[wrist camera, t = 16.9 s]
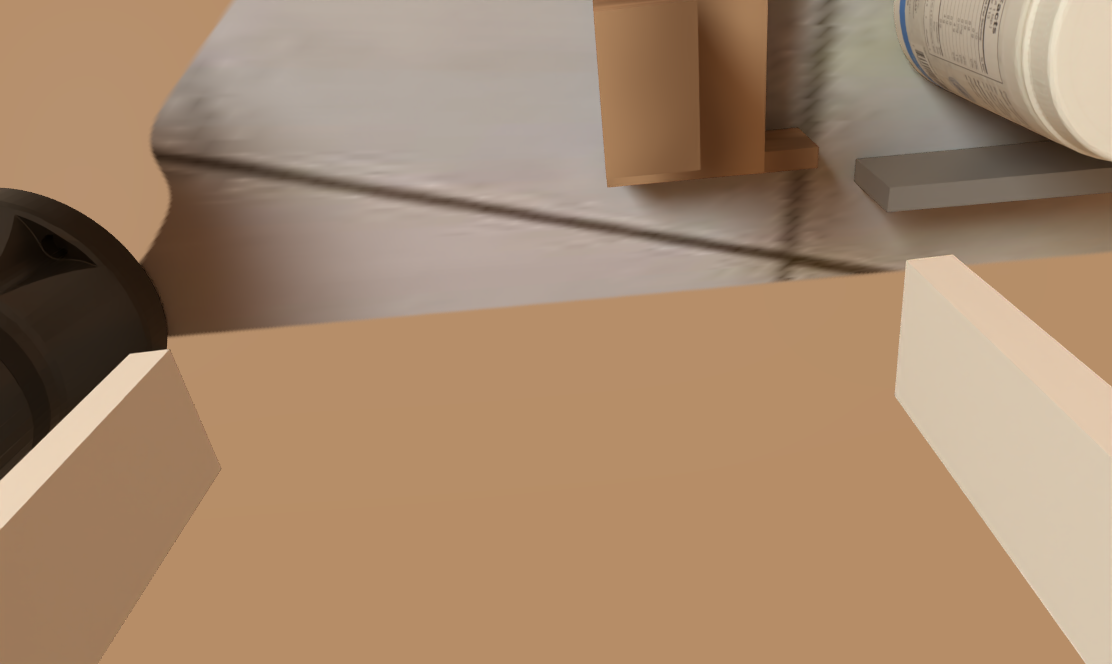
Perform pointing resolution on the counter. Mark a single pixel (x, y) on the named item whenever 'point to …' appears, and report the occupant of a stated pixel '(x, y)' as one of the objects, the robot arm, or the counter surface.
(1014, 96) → the supplement tub
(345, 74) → the counter surface
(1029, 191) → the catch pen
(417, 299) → the counter surface
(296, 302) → the counter surface
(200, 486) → the robot arm
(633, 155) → the wooden bracket
